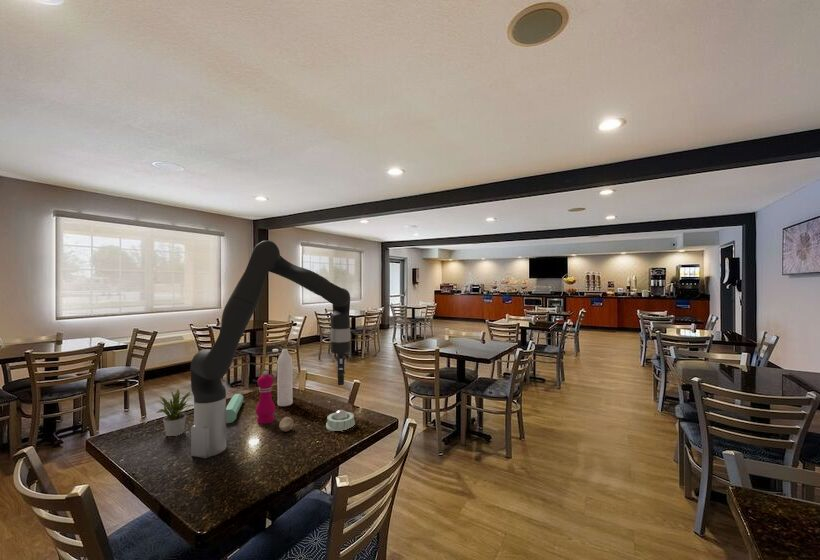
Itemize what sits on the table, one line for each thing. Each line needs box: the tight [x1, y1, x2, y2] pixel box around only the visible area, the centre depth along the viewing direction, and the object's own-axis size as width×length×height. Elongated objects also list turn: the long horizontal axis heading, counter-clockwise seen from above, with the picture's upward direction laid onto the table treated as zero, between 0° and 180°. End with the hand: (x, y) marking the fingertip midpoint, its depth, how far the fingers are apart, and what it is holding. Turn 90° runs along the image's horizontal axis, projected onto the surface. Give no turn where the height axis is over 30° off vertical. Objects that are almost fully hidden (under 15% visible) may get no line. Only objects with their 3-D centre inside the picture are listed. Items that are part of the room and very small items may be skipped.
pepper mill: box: [255, 370, 276, 425], centre depth 141 cm, size 7×7×20 cm
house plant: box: [155, 388, 194, 437], centre depth 129 cm, size 14×14×16 cm
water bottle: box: [272, 348, 294, 407], centre depth 160 cm, size 9×6×25 cm
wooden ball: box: [278, 416, 294, 432], centre depth 131 cm, size 5×5×5 cm
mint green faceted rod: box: [226, 393, 244, 424], centre depth 151 cm, size 6×6×25 cm
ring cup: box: [325, 411, 356, 432], centre depth 136 cm, size 11×11×4 cm
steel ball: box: [334, 409, 347, 420], centre depth 136 cm, size 5×5×5 cm
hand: (340, 381), depth 136 cm, fingers open, 8 cm apart
